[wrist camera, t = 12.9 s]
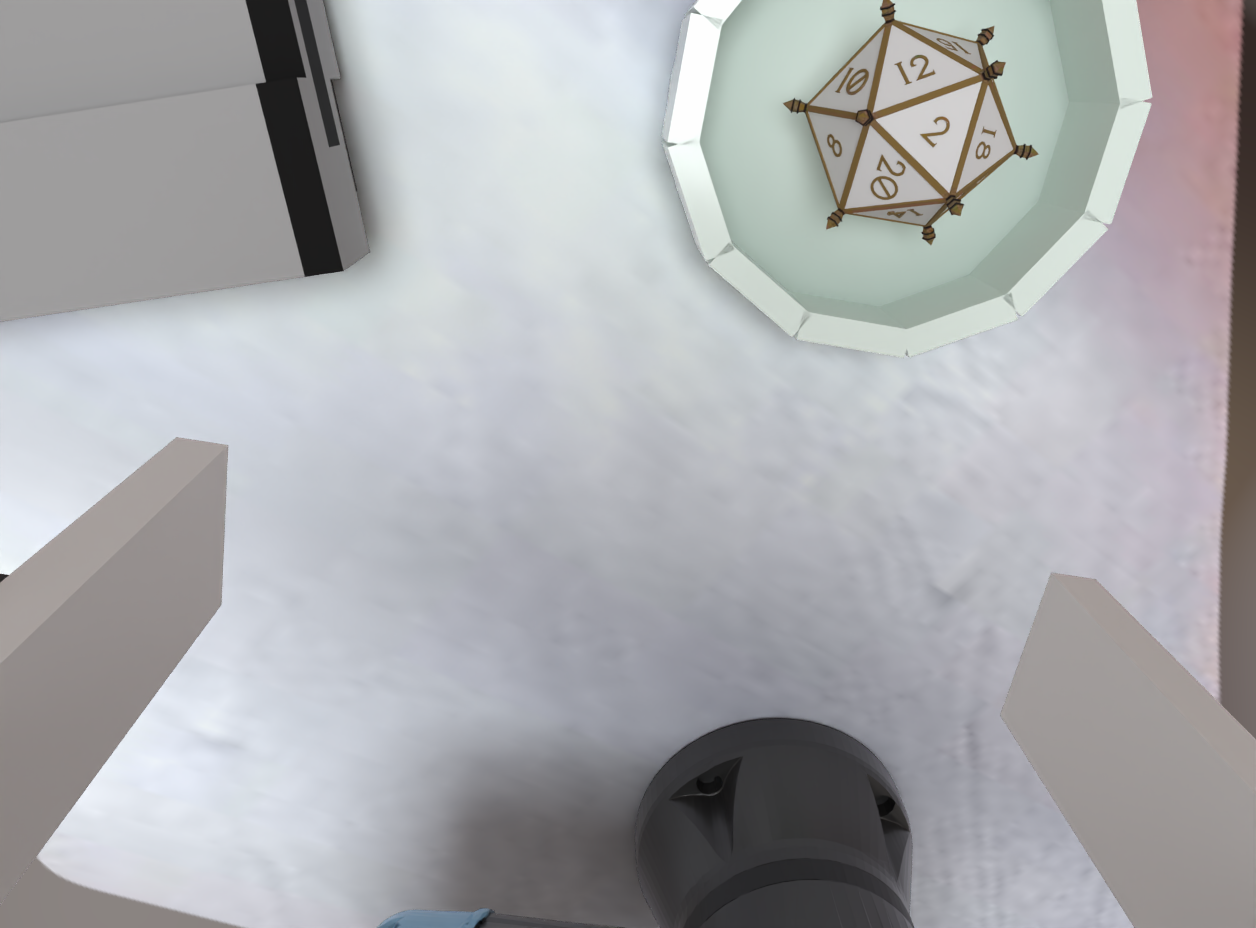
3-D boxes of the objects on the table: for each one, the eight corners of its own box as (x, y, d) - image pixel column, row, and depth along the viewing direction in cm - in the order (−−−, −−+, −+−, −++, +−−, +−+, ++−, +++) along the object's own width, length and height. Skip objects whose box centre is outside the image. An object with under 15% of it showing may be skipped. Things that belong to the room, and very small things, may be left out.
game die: (888, 155, 47) (975, 312, 42) (729, 124, 43) (802, 292, 38) (1010, -26, 40) (1132, 133, 35) (834, -79, 37) (940, 88, 31)
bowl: (1007, 351, 48) (1057, 384, 42) (632, 286, 46) (636, 312, 41) (1141, -70, 41) (1217, -92, 36) (712, -160, 40) (729, -196, 35)
